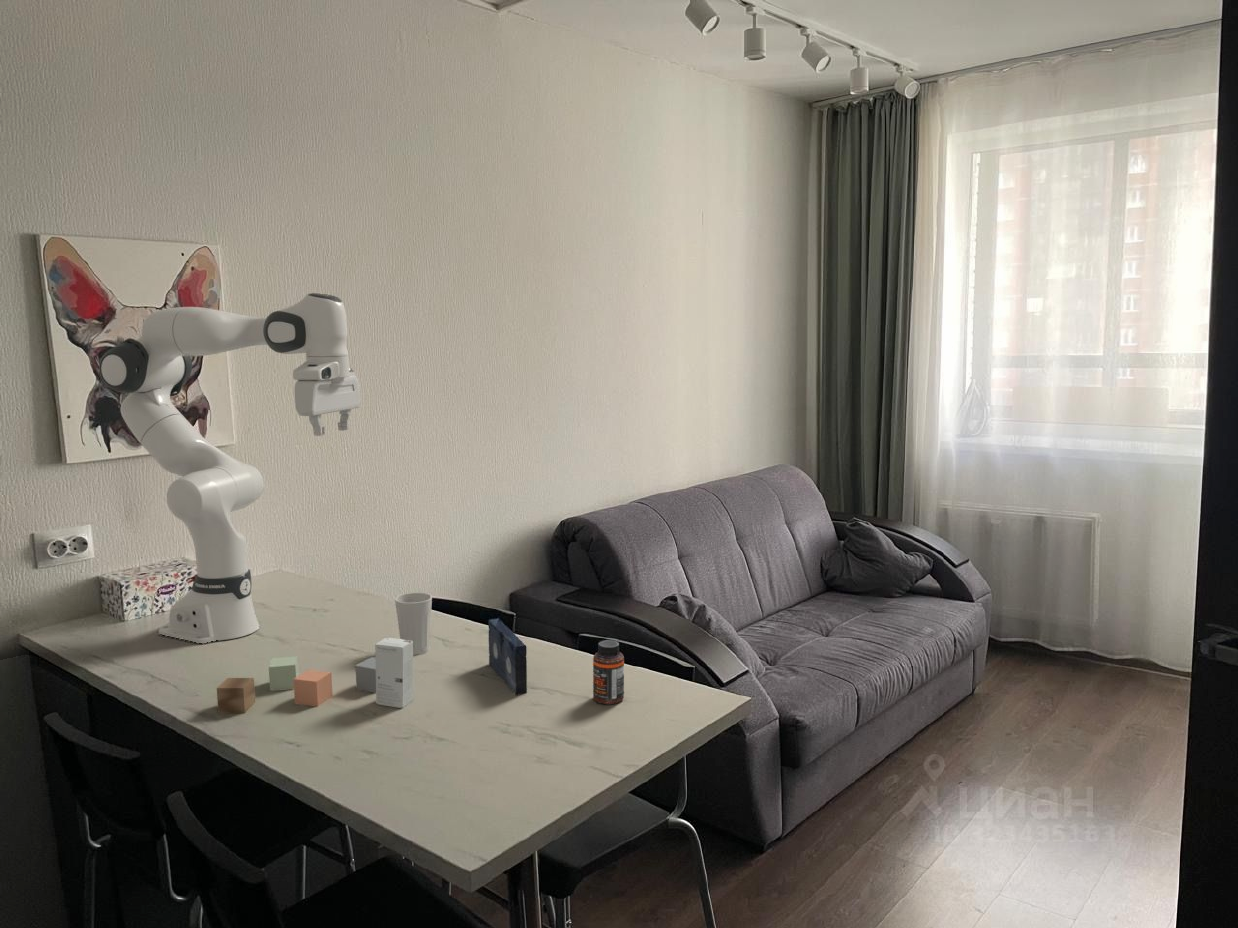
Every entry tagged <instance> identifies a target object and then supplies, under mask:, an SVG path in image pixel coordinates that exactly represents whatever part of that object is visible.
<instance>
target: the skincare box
mask: <svg viewBox="0 0 1238 928" xmlns="http://www.w3.org/2000/svg"><path fill="white" fill-rule="evenodd" d="M374 649H375V650H374V652H375V657H374V658H376V693H375V698H376V699H375V703H376V705H379V706H386V707H392V708H397V709H398V708H399V709H403V708H405V707H406V706H409V704H410V703H412V702H413V701H414V655H413V641H409V640H403V639H400V638H396V637H395V638H392V637H385V638H383V639H382V640H380V641H378V642H377V643H375V648H374Z"/></svg>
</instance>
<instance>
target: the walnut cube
mask: <svg viewBox="0 0 1238 928" xmlns="http://www.w3.org/2000/svg"><path fill="white" fill-rule="evenodd" d="M216 696H217V697H216V699H217V713H218V714H245V713H247V712H248V711H249V710H250V708H251V707H253V706H254V705H255V703H256V689H255V677H227V678H226V679H225V680H224V681H223V682H222V683H221V684H219V685H218V686H217V687H216Z"/></svg>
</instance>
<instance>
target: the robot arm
mask: <svg viewBox="0 0 1238 928" xmlns="http://www.w3.org/2000/svg"><path fill="white" fill-rule="evenodd" d="M347 320H348V318H347V313H346V308H345V304H344V302H343V301H342V300H341V298H339V297H337V296H335V295H330V294H325V293H319V292H318V293H317V292H313V293H312V292H311V293H310V292H309V293H308V294H306V295H305V296H304V297H303V298H302V299H301V300H300V301H298V302H296V303H295V304H292V305H291V306H287V307H285V308H283V309H278V310H276V311H273V312H270V313H269V315H267V317H265V316H264V317H260V316H252V315H251V316H250V315H244V314H242V313H241V314H240V313H235V312H229V311H225V310H220V309H215V308H208V307H200V306H199V307H198V306H181V307H180V306H179V307H170V308H164V309H160V310H156V311H153V312H151V313H149V314H147V316H146V317H145V319H144V320H143V322H142V326H141V336H140V337H139V338H138V339H134V338H130V337H129V338H127V339H124V341H122V342H120V344H118V345H116V346H113V347H112V348H110V349H109V350H107V351H106V352H105V353H104V354H102V357H101V358H100V362H99V366H98V368H99V369H98V371H99V375H100V379H101V380H102V382H103V384H104V385H106V387H108V388H109V389H110V390H112V391H115V392H118V393H124V394H125V393H126V394H128V395H127V396H126V397H125V398H124V400H122V402H121V406H120V414H121V417H122V418H123V420H124V423H125V424H126V425H127V428H128V429H129V430H130V432H131V433H132V434H133V436H134V437H135V439H136V440H137V441H138V442H139V443H140V445H141V446H142V447H143V448H144V449H145V451H147V452H148V453H149V454H150V456H151V457H152V458H153V459H154V460H155V461H156V463H158V464H159V466H160V467H161V468H162V469H163V470H165V471H167V472H168V473H170V474H175V475H177V476H180V477H179V478H178V479H176V480H174V481H173V482H171V484H170V485H169V486H168V489H167V491H166V504H167V506H168V508H169V511H170V512H171V513H172V515H173V516H174V517H176V518H177V519H179V520H180V521H182V523H184V525H185V526H186V527H187V530H188V531H189V533H190V535H191V538H192V541H193V546H194V552H195V561H196V574H195V575H193V576H190V577H188V578H187V580H189V581H187V583H188V584H190V583H192V586H191V589H190V591H188V592H187V593H186V594H185V595H183V596H182V597H181V598H180V599H179V600H177V602H175V603H174V604H173V605H172V606H171V608H170V610H169V615H168V616H169V617H168V618H169V619H168V623H166V624H164V625H163V626H162V627H160V628H159V630H158V635H159V634H163V635H168V636H173V637H178V638H183V639H186V640H190V641H193V642H192V643H194V642H196V643H195V644H199V643H202V644H208V643H212V642H211V641H213V642H216V640H218V641H225V640H232V639H236V638H241V637H245V636H248V635H250V634H253V633H255V632H257V631H258V630H259V629H260V627H261V625H260V623H259V620H258V618H257V615H256V612H255V606H254V603H253V597H252V593H251V592H252V574H251V570H250V569H249V560H248V559H249V558H248V557H249V556H248V547H247V546H248V544H247V539H246V537H245V535H244V534H243V533H241V532H240V531H238V530H237V529H235V527H234V525H233V522H232V519H231V512H232V513H233V512H235V511H238V510H241V509H245V508H246V507H248V506H250V505H251V504H253V503H254V502H256V501H257V500H258V499H260V498H261V495H262V494H263V492H264V487H265V483H264V478H263V476H262V474H261V473H260V471H259V469H258V468H256V467H255V466H254V465H252V464H249V463H245V462H243V461H240V460H238V459H235V458H233V457H232V456H230V454H229V455H228V454H227V453H225V452H224V451H223V450H221V449H220V448H218V447H216V446H215V445H214V444H212V443H211V442H209V441H208V440H207V439H206V438H205V437H204V436H203V435H201V433H200V432H199V431H198V430H197V429H196V428H195V427H194V426H193V425H192V424H191V422H189V420H188V419H187V418H186V417H185V416H184V415H183V413H181V412H180V411H179V410H178V409H177V407H176V406H175V405H174V404H173V403H172V400H171V397H175V396H178V394H180V393H181V392H182V388H183V386H184V385H185V384H186V383H187V382H188V380H189V379H190V377H191V374H192V373H193V372H192V371H193V361H192V357H203V356H211V355H217V354H221V353H226V352H230V351H234V350H239V349H240V350H241V349H244V348H248V347H255V346H265V345H267V346H268V347H269V348H270V349H271V351H274V352H275V353H279V354H285V355H292V354H293V355H294V354H295V355H296V354H305V355H306V356H305V357H306V359H305V360H306V361H304V362H303V363H302V364H301V365H299V366H298V367H296V368H295V369H293V370H292V379H294V380H295V381H296V382H295V384H294V404H295V410H296V412H297V414H298V416H300V417H308V418H309V419H308V420H309V422H310V424H311V426H312V430H313V436H315V437H321V436H324V435H325V433H326V432H325V431H326V429H325V426H323V425H322V422H321V420H322V415H325V414H326V415H327V414H331V413H337V412H339V415H340V417H339V422H337V430H338V431H341V432H342V431H348V430H349V422H350V419H351V416H352V410H353V409H359V408H360V406H361V403H362V397H361V396H362V395H361V390H360V383H359V379H358V377H357V376H356V372H355V371H354V370H353V368H351V367H350V356H349V355H350V354H349V351H348V348H347V347H348V346H347V340H348V335H349V333H348V332H349V330H348V321H347ZM259 626H260V627H259ZM190 641H189V642H190ZM207 642H208V643H207Z"/></svg>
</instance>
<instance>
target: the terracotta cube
mask: <svg viewBox="0 0 1238 928" xmlns="http://www.w3.org/2000/svg"><path fill="white" fill-rule="evenodd" d="M332 680H333V679H332V671H324V670H323V671H322V670H314V669H308V670H306V671H304V672H303V673H301V674H298V677H296V678H294V689H293V692H294V693H293V694H294V704H296V705H303V706H313V707H319V706H321V705H323V703H325V702H326V701H328V700H329V699H330V698H332V697H333V681H332Z"/></svg>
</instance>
